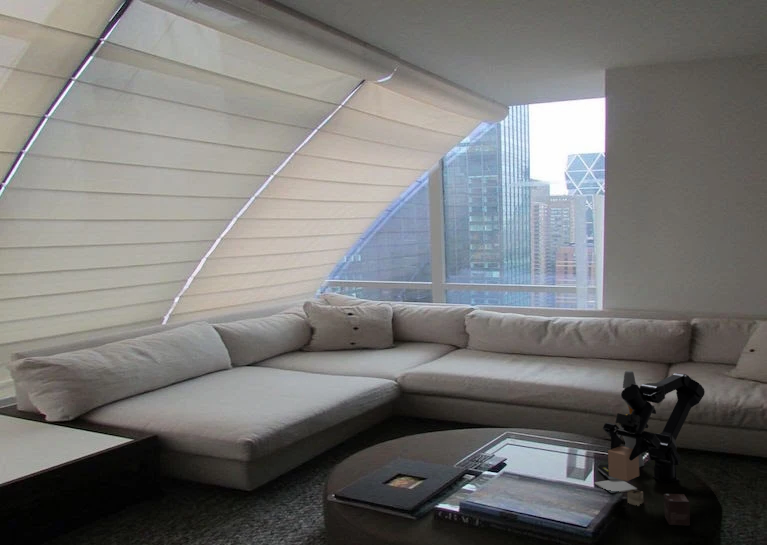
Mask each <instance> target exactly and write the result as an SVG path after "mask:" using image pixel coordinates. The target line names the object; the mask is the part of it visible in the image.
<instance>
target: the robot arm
mask: <svg viewBox="0 0 767 545" xmlns="http://www.w3.org/2000/svg"><path fill="white" fill-rule="evenodd" d="M673 391H676V397H677V402H676V403H675V405H674V407H673V409H672V411H671V413H670V415H669V417H668V419H667V421H666V423H665V424H664V428H663V430H662V431H661V433H660V432H659V433H657V432H650V431H646V430H645V429H648V428H649V425H648V422H649V420H650V419H651V416H652V415H656V414H657V410H656V408H655V405H652V404H651V403H653V404H654V403H655V404H660V403H661V402H662V401H664V400H665V399H666V395H667V394H669V393H672V392H673ZM705 392H706V391H705V388H704V387H703V385H702V384H701V383H699V382H698V381H697V380H695V379H693V378H691V377H690V376H689V375H688V374H685V373H678V372H675V373H673V374H672V375H669V376H668V377H665V378H664V379H661V380H659V381H657V382H649V383H643V384H640V386H639V385H638V384H631V386H630V387H627V388H623V390H621V392H620V393H621V394H620V395H621V398H622V400H623V401H624V402H625V404H626V405H627V407H628V406H629V407H630V408H631V409H633V411H632V413H631V414H630V413H627V414H628V415H626V414H623V413H616V417H615V423H611V422H605V423H604V425H603V426H602V430H603V431H604V432H605V433H606V434H607V435H608V436H609V437H610V450H611V449H613V448H616V447H619V446H622V445H621V444H622V443H623V440H622V437H623V436H626V437H630V438H634V439H636V444H635V446H634V448H633V450H632V452H631V455H630V458H629V459H630V460H631V461H632V460H633V459H635V458H636V457H637V456H639V455H640V454H641V455H642V454H644V453H645V452H648V455H649V457H650V460H651V461H653V462H654V466H653V473H654V474H653V475H652V478H654V479H656V480H658V481H659V482H662V483H663V484H664V483H666V484H667V483H671V482H677V481H680V478H678V477H677V466H678V465H679V464H681V460H682V459H681V458H682V456H681V455H680V454H679V452H678V451H677V450H678V446H677V443H676V441H677V438H678V435H679V434H680V432H681V430H682V427H683V425H684V424H685V421H686V419H687V417H688V415H689V413H690V412H691V409H692V408H693V407H695V406H696V405H698V404H700V402H701V401H702V399H703V398H704V396H705ZM629 407H628V408H629ZM618 423H620V424H621V427H622V428H624V430H622V429H620V428H619V425H617V424H618Z"/></svg>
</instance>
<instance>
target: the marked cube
mask: <svg viewBox="0 0 767 545" xmlns="http://www.w3.org/2000/svg"><path fill="white" fill-rule="evenodd" d="M626 495H627V504H628V503H629V504H628V505H632V506H636V505H637V507H640V506H641V505H642V504H643V503H644V491H642V490H641V491H640V490H638V489H637V490H633V489H632V490H630V491H627V493H626ZM640 504H641V505H640Z"/></svg>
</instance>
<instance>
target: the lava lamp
mask: <svg viewBox="0 0 767 545" xmlns="http://www.w3.org/2000/svg"><path fill="white" fill-rule="evenodd" d="M631 384H636V377H635V373H634V371H633V370H626V371H625V372H624V375H623V382H622V388H623V389H625V388H627V387H630V386H631ZM627 407H628V411H629V413H626V414H625V415H628V414H631V413H632V411H633V409H631V408H630V407H629V406H628V405H627ZM617 424H618V425H617V426H618V427H619V429H622V430H624V428H622V427H621V424H620V423H617ZM622 438H623V440H624V443H625V444H624V447H627V448H631V449H633V448H634V446H635V444H636V439H634V438H630V437H626V436H622ZM643 466H645V462H644V459H643V457H642V454H640V455H639V468H641V467H643Z"/></svg>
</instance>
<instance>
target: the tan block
mask: <svg viewBox="0 0 767 545" xmlns="http://www.w3.org/2000/svg"><path fill="white" fill-rule="evenodd" d="M632 450H633V449H631V448H627V447H625V446H622V445H620V446H619V447H616V448H613V449H611V448H610V449H609V450H607V456H608V457H607V463H608V466H609V476H611V477H614V478H618V479H621V480H623V481H625V482H629V481H631V480H634V479H636V478H637V477H640V467H639V456H637V457H636V458H635V459H633V460H632V461H631V460H630V459H629V458H630V455H631V452H632Z"/></svg>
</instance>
